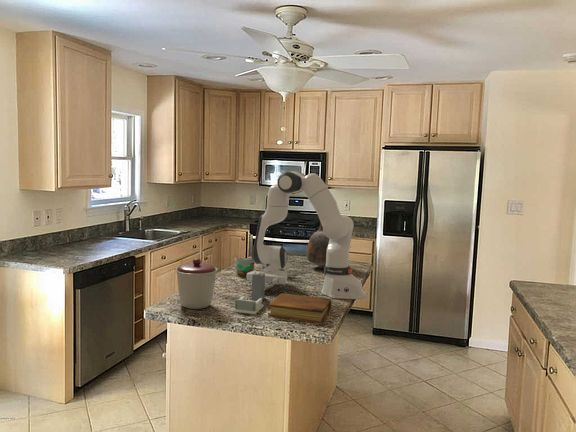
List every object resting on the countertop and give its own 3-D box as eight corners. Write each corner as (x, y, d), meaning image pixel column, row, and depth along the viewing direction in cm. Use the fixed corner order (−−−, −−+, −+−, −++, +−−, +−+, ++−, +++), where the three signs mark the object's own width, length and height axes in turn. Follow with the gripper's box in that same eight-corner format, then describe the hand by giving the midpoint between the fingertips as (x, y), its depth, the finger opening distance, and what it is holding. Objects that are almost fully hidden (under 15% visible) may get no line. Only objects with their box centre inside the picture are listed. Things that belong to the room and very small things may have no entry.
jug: (348, 268, 294) (351, 220, 290) (332, 274, 276) (335, 223, 272) (314, 262, 307) (316, 217, 303) (297, 268, 289) (299, 219, 285)
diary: (330, 311, 208) (331, 298, 208) (322, 324, 191) (322, 310, 190) (281, 304, 215) (281, 292, 214) (268, 317, 197) (268, 303, 196)
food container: (230, 275, 264) (231, 258, 263) (235, 273, 269) (236, 256, 268) (250, 278, 259) (250, 260, 258) (255, 276, 265) (255, 258, 264)
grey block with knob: (264, 298, 222) (265, 271, 221) (260, 301, 217) (261, 273, 216) (254, 297, 223) (255, 270, 222) (251, 299, 218) (252, 273, 217)
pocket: (263, 306, 209) (263, 295, 208) (255, 314, 198) (255, 302, 198) (242, 304, 211) (242, 293, 211) (233, 311, 201) (233, 300, 200)
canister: (208, 314, 196) (209, 264, 194) (167, 310, 199) (168, 261, 197) (222, 301, 214) (223, 256, 211) (184, 298, 217) (185, 253, 214)
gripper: (251, 267, 241) (242, 272, 228) (290, 270, 236) (282, 276, 223) (251, 279, 242) (241, 285, 229) (289, 283, 237) (282, 289, 224)
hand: (262, 281), depth 226 cm, fingers open, 8 cm apart
